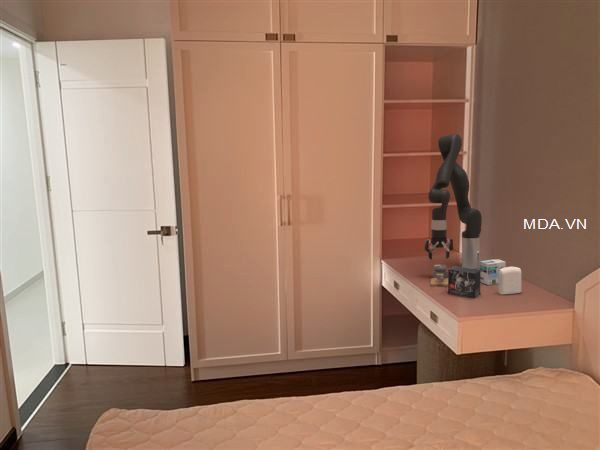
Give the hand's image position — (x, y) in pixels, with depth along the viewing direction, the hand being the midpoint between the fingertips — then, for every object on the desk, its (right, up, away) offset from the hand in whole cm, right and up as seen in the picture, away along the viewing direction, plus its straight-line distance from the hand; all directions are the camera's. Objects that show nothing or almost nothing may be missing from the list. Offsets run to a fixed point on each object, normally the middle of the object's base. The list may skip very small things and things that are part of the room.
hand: (438, 258), depth 249 cm
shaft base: (-1, -12, -8) cm, 15 cm away
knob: (+1, -10, +1) cm, 10 cm away
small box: (+4, -15, -26) cm, 31 cm away
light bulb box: (+24, -11, -11) cm, 28 cm away
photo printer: (+25, -14, -28) cm, 40 cm away
